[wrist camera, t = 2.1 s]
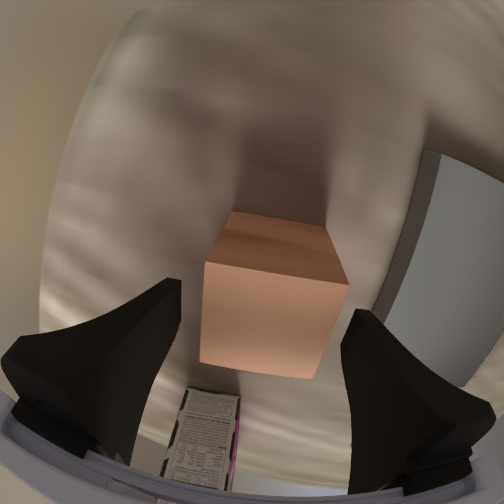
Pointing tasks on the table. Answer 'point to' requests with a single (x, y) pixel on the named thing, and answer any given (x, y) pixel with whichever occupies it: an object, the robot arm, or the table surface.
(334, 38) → the table surface
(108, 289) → the table surface
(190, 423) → the candy bar box
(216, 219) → the table surface
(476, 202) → the board
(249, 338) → the block
